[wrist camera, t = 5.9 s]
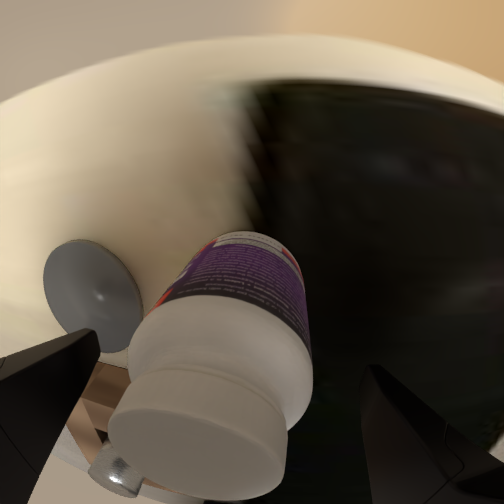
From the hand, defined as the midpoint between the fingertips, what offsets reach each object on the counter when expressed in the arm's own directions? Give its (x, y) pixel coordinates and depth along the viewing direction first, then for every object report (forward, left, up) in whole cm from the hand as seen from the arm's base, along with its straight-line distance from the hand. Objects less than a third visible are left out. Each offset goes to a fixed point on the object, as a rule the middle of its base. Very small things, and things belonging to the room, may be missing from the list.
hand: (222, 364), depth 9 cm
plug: (-12, +7, -5) cm, 15 cm away
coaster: (-2, +9, -6) cm, 11 cm away
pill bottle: (0, 0, -6) cm, 6 cm away
